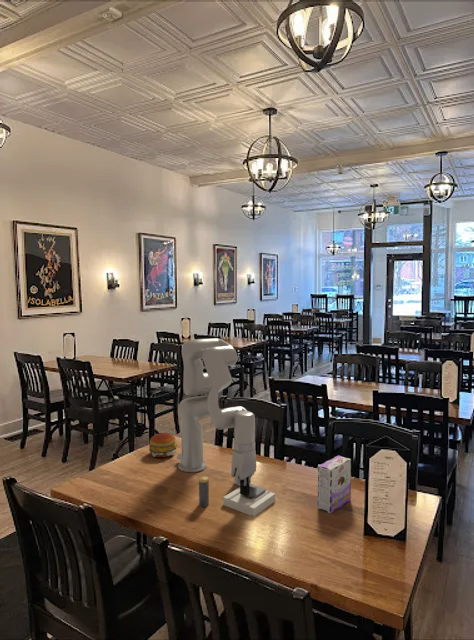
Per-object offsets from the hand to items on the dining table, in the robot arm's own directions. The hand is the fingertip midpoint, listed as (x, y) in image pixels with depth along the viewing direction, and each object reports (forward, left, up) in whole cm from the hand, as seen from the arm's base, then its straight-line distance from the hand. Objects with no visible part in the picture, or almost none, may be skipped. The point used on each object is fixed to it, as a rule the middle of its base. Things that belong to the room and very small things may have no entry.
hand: (244, 494), depth 163 cm
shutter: (0, +6, -1) cm, 6 cm away
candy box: (+26, +21, -5) cm, 34 cm away
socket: (0, +3, -5) cm, 5 cm away
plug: (-13, -8, -5) cm, 16 cm away
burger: (-62, +18, -5) cm, 65 cm away
